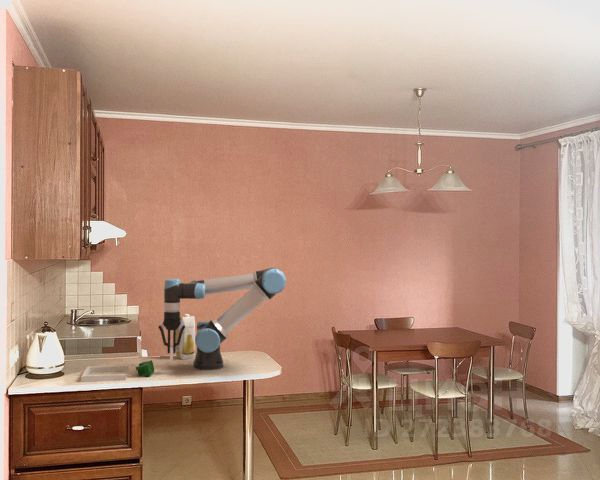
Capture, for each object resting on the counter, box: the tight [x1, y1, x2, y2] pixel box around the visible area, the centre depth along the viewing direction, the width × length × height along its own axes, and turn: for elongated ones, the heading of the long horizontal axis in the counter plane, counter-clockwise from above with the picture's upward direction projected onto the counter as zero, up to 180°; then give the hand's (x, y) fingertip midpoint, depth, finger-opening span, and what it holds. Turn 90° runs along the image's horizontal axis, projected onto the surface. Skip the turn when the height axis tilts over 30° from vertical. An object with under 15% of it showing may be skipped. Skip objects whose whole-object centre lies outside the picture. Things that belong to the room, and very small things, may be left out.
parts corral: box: [80, 364, 130, 383], centre depth 294 cm, size 20×21×2 cm
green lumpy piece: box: [135, 359, 155, 378], centre depth 296 cm, size 12×6×9 cm, turn 177°
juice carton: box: [175, 313, 196, 360], centre depth 336 cm, size 9×8×24 cm
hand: (171, 359), depth 299 cm, fingers closed
